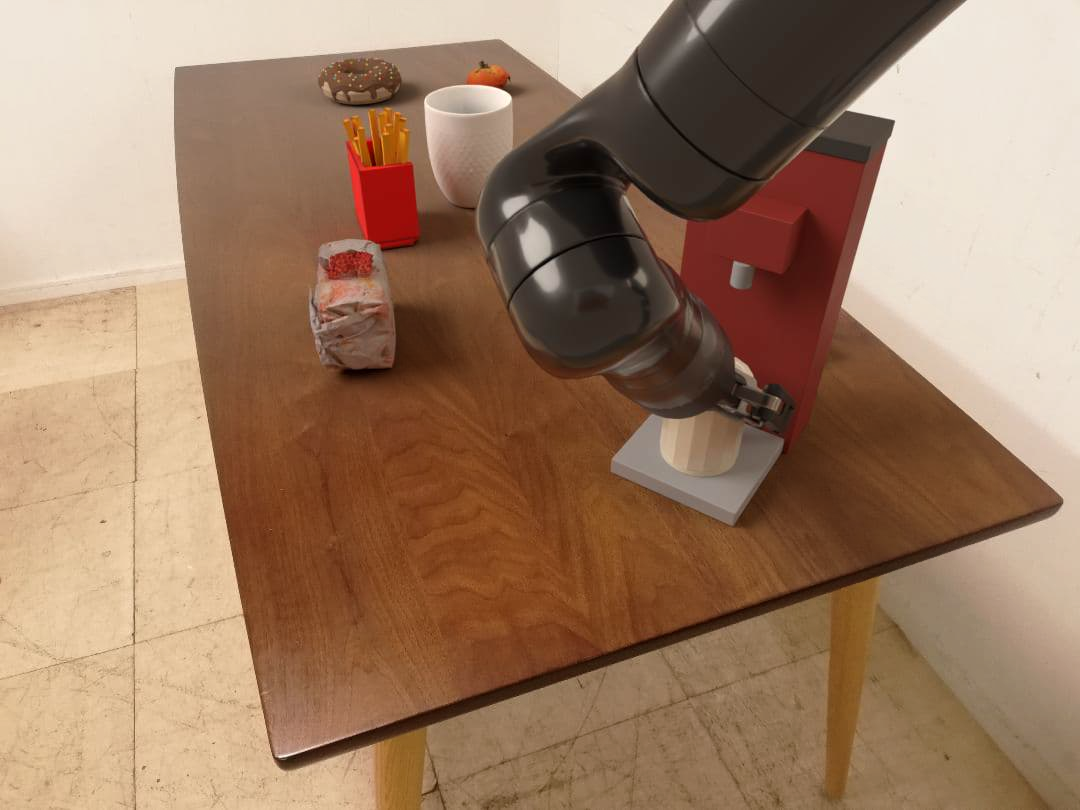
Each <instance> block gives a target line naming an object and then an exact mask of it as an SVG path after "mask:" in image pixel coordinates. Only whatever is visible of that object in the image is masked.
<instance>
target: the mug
mask: <svg viewBox="0 0 1080 810" xmlns="http://www.w3.org/2000/svg"><path fill="white" fill-rule="evenodd" d="M423 102H424V106H423V107H424V122H425V124H424V125H425V132H426V133H425V134H426V144H427V149H428V150H427V151H428V156H429V157H428V158H429V161H430V165H431V169H432V172H433V175H434V179H435V181H436V184H437V185H438V187H439V189H440V191H441V192H442V194H443V196H444V197H445V198H446V199H447V200H448V202H449V203H451V204H452V205H454V206H457V207H460V208H465V209H475V208H476V204H477V200H478V197H479V194H480V191H481V188H482V186H483V184H484V182H485V180H486V178H487V176H488V174H489V173H490V172H491V170H492V169H493V167H494V166H495V165H496V164H497V163H498V162H499V161H500V160H501V158H503V157H504V156H505V155H506V154H507V153H509V152H510V151H511V150H512V149H514V147H513V145H514V144H513V142H514V141H513V140H514V113H513V111H514V110H513V97H512V95H511V94H510V93H508V92H507V91H505V90H503V89H498V88H494V87H490V86H483V85H465V84H459V85H452V86H446V87H442V88H439V89H436V90H433V91H432V92H430V93H428V94H427V95H426V96H425V98H424V101H423Z"/></svg>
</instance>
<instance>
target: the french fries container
mask: <svg viewBox="0 0 1080 810" xmlns="http://www.w3.org/2000/svg"><path fill="white" fill-rule="evenodd" d="M367 112H368V120H369V126H370V133H371V138H367V136H366V129H365V126H364V125H362V121H361V118H360V115H353V116H350V117H349V118H348V117H347V118H344V119H342V120H341V122H342V125H343V127H344V130H345V132H346V135H347V137H348V140H347V141H345V146H346V152H347V160H348V166H349V174H350V180H351V187H352V196H353V201H354V208H355V215H356V216H355V217H356V220H357V222H358V225H359V228H360V230H361V233H362V236H363V238H364V240H368V241H372V242H373V243H375V244H379V245H380V250H381V251H382V250H387V249H393V248H399V247H400V248H401V247H407V246H413V245H415V242H419V241H420V240H419V239H420V225H419V215H418V205H417V194H416V183H415V172H414V164H413V162H412V161H409V155H410V154H409V152H410V136H411V135H410V134H411V130H410V129H409V128H407V117H402V116H403V114H402V113H401V112H400V111H393V108H390V107H383V108H382V112H379V113H378V112H377V111H376V109H375V108H372V109H367Z"/></svg>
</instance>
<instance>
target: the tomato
mask: <svg viewBox="0 0 1080 810" xmlns="http://www.w3.org/2000/svg"><path fill="white" fill-rule="evenodd" d="M478 65H479V68H475V69H473V70H471V71H470V73H469V74H468V75H467V79H466V83H465V84H464V85H483V86H490V87H494V88H498V89H501V90H503V89H504V88H505V87H506V86H507V83H508V82H509V83H510V84H512V82H511V75H510V74H509V73H508V72H507V70H506V69H504V67H502V66H500V65H498V64H491V65H489V63H488V62H486V63H485V61H484V60H483V59H482V60H480V61H479V62H478Z"/></svg>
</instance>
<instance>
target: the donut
mask: <svg viewBox="0 0 1080 810" xmlns="http://www.w3.org/2000/svg"><path fill="white" fill-rule="evenodd" d="M402 79H403V78H402V76H401V72H400V69H399V67H398V66H396V65H395V64H393V62H389V61H385V60H384V59H383V58H381V59H379V58H378V57H377V58H375V57H371V58H363V57H360V58H348V59H342V60H339V61H335V62H331V64H330V65H328V66H326V67H325V68H323V69H322V72H321V73H320V74H319V75H318V79H317V84H318V86H319V89H320V90H321V92H323V94H324V95H325V96H326V97H327V98H329V99H330V100H331V101H333V102H336V103H339V104H344V105H368V104H375V103H379V102H383V101H386V100H388V99H391V98H392V97H394V95H396V93H397V92H399V91H400V89H401V87H402V81H403V80H402Z"/></svg>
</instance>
